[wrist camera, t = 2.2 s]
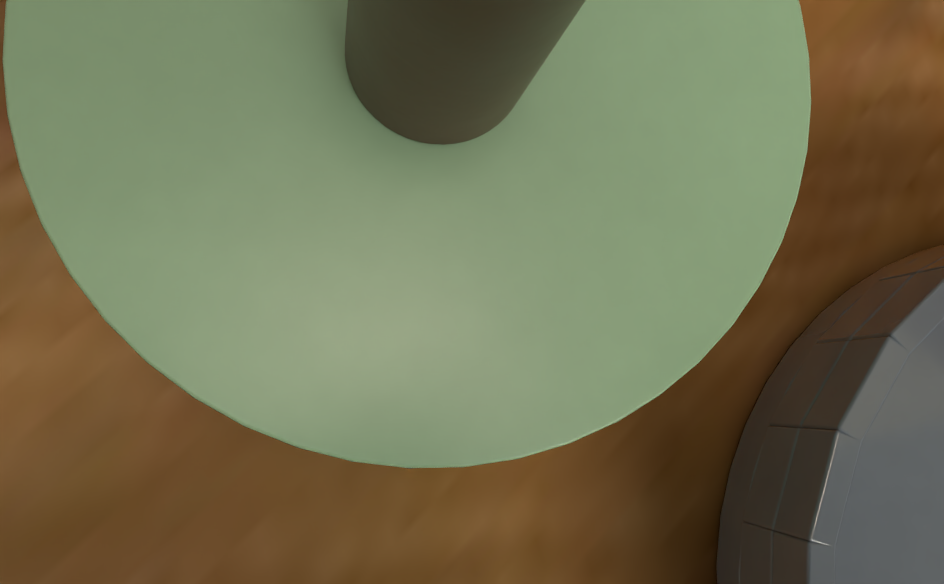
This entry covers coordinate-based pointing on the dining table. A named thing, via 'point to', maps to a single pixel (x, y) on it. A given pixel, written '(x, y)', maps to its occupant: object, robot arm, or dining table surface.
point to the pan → (848, 444)
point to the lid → (414, 202)
